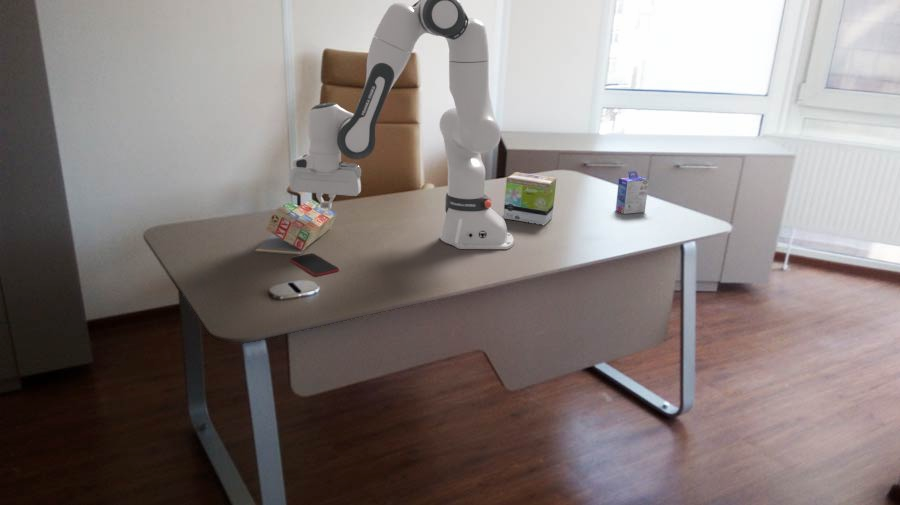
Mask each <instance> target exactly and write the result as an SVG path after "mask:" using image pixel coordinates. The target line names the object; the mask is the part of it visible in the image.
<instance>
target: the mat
mask: <svg viewBox="0 0 900 505" xmlns="http://www.w3.org/2000/svg"><path fill="white" fill-rule="evenodd" d="M307 248H308V246H307V247H306V248H305V249H304V250H302V251H301V250H299V249H298V248H296V247H294V246H293V245H291V244H290V243H288V242H286V241H284V240H282V239H281V238H279V237H277V236H276V235H274V234H273V233H272V235H270V236H269V237H267V239H266V240H265V241H264V242H263V243H261V244H260V245H259V246H257V248H256V249H255V250H254V252H256V253H270V254H282V255H293V256H294V255H297V256H301V255H302V253H303V252H304V251H305V250H306V249H307Z"/></svg>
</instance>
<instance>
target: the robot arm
mask: <svg viewBox="0 0 900 505" xmlns="http://www.w3.org/2000/svg"><path fill="white" fill-rule="evenodd" d="M424 34H429V35H432V36H437V37H443V38H444V39H446V42H447V45H448V50H449V53H448V68H449V69H448V74H449V76H448V77H449V78H448V79H449V81H448V82H449V83H448V84H449V86H448V87H449V91H450V92H449V93H450V94H451V96H452V99H453V102H454V106H455V107H453V108H450V109H447V110H445V111H444V113H442V115H441V117H440V120H439V131H440V133H441V135H442V138H443V143H444V149H445V155H446V162H447V192H446V195H445V199H444V209H445V219H444V224H443V227H442V230H441V234H440V236H439V238H440V240H441V241H442V242H444V243H445V244H449V245H452V246H454V247H455V248H456V249H458V250H460V249H461V250H509V249H511V248H512V247H513V246H514V242H515V240H514V236H513V235H512V233H510V232H508V226H507V224H506V223H507V222H506V221H505V220H506V219H504V217H502V216H501V215H500V214H498V213H497V212H496V211H495V210H493V209H492V208H491V206H492V201H491V200H492V198H491V197H490V196H489V195H486V193H485V187H486V186H485V185H486V167H485V165H484V162H483V159H482V154H488V153H490V152H492V151H493V150H495V149H496V148H497V146H499V144H500V141H501V138H502V137H501V134H502V132H501V129H500V128H501V127H500V126H499V125H498V122H497V120H496V118H495V115H494V110H493V105H492V100H491V96H490V86H489V84H490V83H489V80H490V79H489V71H490V70H489V69H490V68H489V59H490V58H489V42H488V36H487V30H486V26H485V24H484V23H483V22H482V21H481V20H479V19H477V18H473V17H468V15H467V14H466V12H465V10H464V8H463V6H462V4H461V2H460V1H459V0H418V1H417V2H416V3H414V4H413V5H409V4H407V3H403V2H396V3H393V4H391V5H390V6H389V7H388V9H387V10H386V11H385V13H384V14H383V16H382V18H381V19H380V22H379V24H378V26H377V28H376V30H375V32H374V35H373V37H372V40H371V43H370V45H369V49H368V54H367V58H366V59H367V60H366V76H365V77H366V78H365V84H364V87H363V90H362V94H361V96H360V98H359V100H358V103H357V105H356V108H355V110H354V113H353V112H351V111H348V110H346V109H344V108H343V107H341V106H340V105H339V104H338V103H336V102H324V103H319V104H316V105H314V106H313V107H312V108H311V109H310V111H309V115H308V130H307V131H308V138H309V142H310V143H309V148H308V154H303V155H300V156H298V157H296V158H295V159H293V160H292V167H293V168H292V170H291V171H290V174H289V177H290V178H289V187H290V190H291V191H292V192H295V193H296V192H297V193H308V194H309V193H311V194H315V196H316V199H317V201H318V203H319V204H320V208H326V209H330V210H332V207H333V206H332V205H333V203H332V202H333V201H334V199H335V198H336V196H337V195H339V196H351V197H357V196H358V195H360V193H361V192H362V182H361V177H362V169H361V167H360V165H358V164H356V163H355V162H351V163H350V162H342V155H343V156H345V157H346V158H348V159H351V160H363V159H364V158H367V157H368V156H370V155H371V153H372V152H373V150H374V149H375V146H376V126H377V123H378V120H379V118H380V114H381V113H382V109H383V107H384V104H385V102H386V100H387V96H388V95H389V93H390V91H391V90H392V87H394V85H395V83H396V82H397V80H398V79H399V77H400V76H401V74H402V73H403V71H404V70H405V68H406V66H407V64H408V62H409V60H410V58H411V55H412V53H413V50H414V48H415V45H416V43H417V41H418V40H420V37H421V36H422V35H424ZM325 194H326V195H328V198H329V201H327V200H324V198H323V195H325Z"/></svg>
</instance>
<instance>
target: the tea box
mask: <svg viewBox="0 0 900 505" xmlns="http://www.w3.org/2000/svg"><path fill="white" fill-rule="evenodd" d="M505 183H506V184H505V194H504V203H503V204H504V205H503V219H504V220H512V221H513V220H514V221H518V222H523V223H528V222H529V224H534V223H537V224H536V225H539V224H544V225H545V224H546V223H547V222H548V221H549V220H552V218H553V214H554V213H553V212H554V207H555V206H554V204H555V196H556V186H557V177H553V176H546V175H540V174H533V173H525V172H524V173H523V172H518V171H515V172H513V173H512V174H511V175H509V176H507V177H506V182H505ZM549 222H550V221H549ZM549 222H548V223H549ZM548 223H547V224H548ZM547 224H546V225H547ZM544 225H543V226H544ZM546 225H545V226H546Z"/></svg>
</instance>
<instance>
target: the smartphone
mask: <svg viewBox="0 0 900 505" xmlns="http://www.w3.org/2000/svg"><path fill="white" fill-rule="evenodd" d="M289 261H290V262H292V263H293V264H294V265H296V266H298V267H299V268H301V269H303V270H305V271H306V272H307V273H309V274H310V275H312V276H314V277H320V276H325V275H329V274H333V273H338V272H339V271H340V268H339V267H337V266H336V265H334V264H332V263H330V262H329V261H327V260H325V259H324V258H322V257H320V256H319V255H317V254H315V253H307V254H300V255H297V256H292V257H290V258H289Z"/></svg>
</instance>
